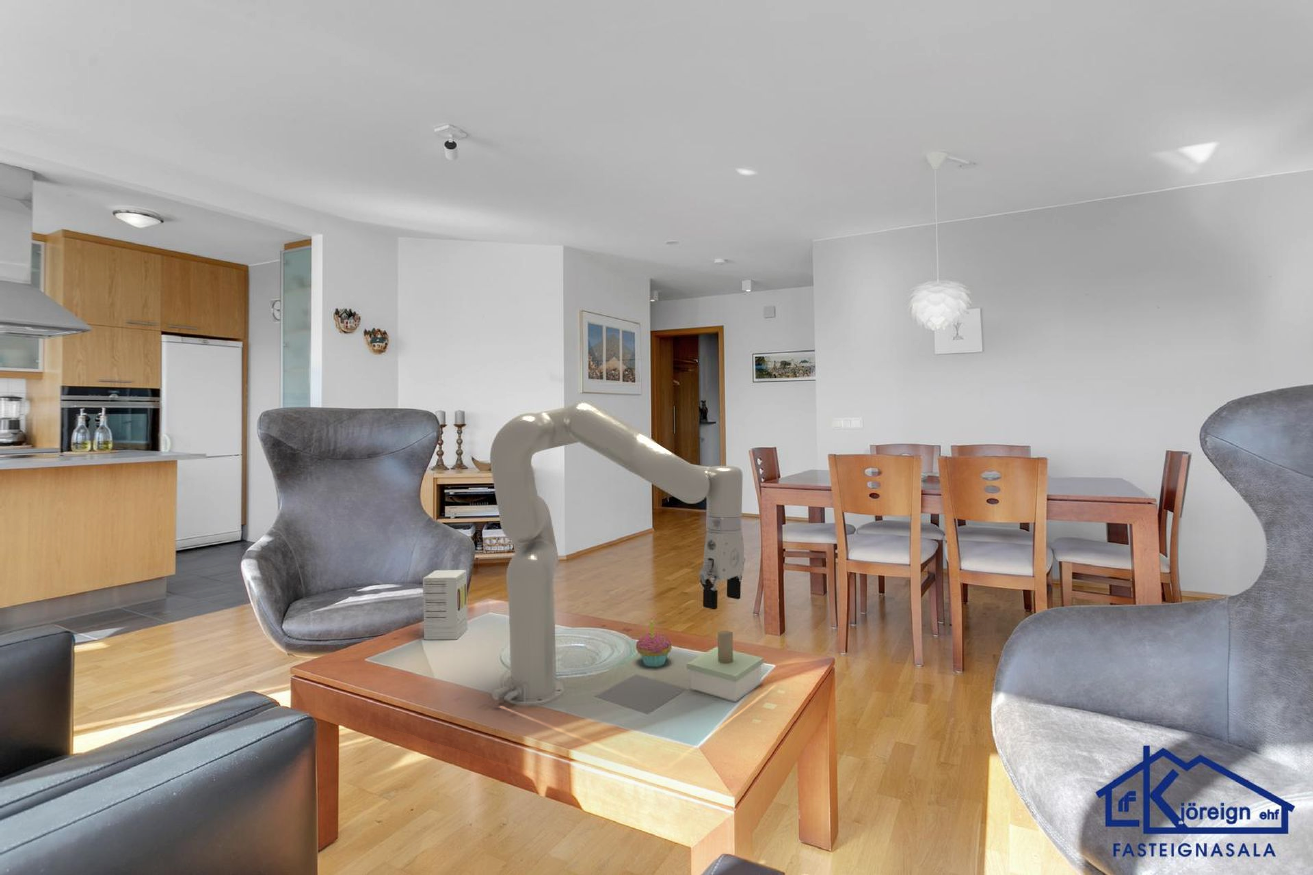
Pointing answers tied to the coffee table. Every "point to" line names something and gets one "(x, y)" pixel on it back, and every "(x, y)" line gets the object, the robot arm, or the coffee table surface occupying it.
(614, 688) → the mat
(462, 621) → the supplement box
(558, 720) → the coffee table surface
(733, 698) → the white square box
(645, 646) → the cupcake
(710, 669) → the lid
